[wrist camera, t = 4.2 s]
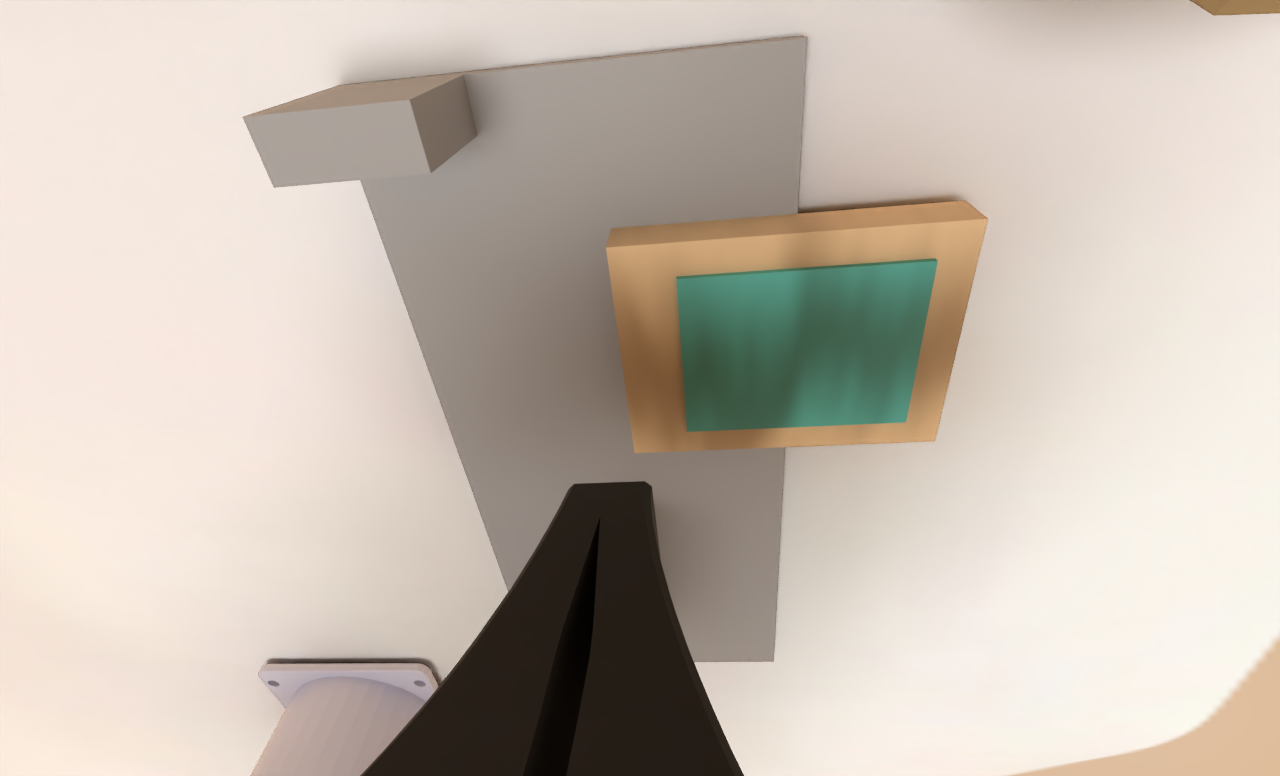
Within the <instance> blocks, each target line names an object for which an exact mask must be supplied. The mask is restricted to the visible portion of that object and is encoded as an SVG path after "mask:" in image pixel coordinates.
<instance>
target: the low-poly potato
mask: <svg viewBox="0 0 1280 776" xmlns="http://www.w3.org/2000/svg"><path fill="white" fill-rule="evenodd" d="M1190 1H1192V2H1194V3H1195V4H1197V5H1198V6H1200V7H1201V8H1203V9H1204V10H1206V11H1208V12H1209V13H1211V14H1212V15H1239V14H1269V13H1280V0H1190Z"/></svg>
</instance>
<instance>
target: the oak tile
mask: <svg viewBox="0 0 1280 776" xmlns="http://www.w3.org/2000/svg"><path fill="white" fill-rule="evenodd" d="M987 220H988V218H986V217H985V216H984V215H983V214H981V213H980V212H979V211H978V210H976V209H975V208H974V207H973V206H971V205H970V204H969V203H968V202H966V201H952V202H939V203H927V204H914V205H901V206H889V207H876V208H864V209H851V210H838V211H826V212H813V213H800V214H788V215H775V216H763V217H750V218H737V219H725V220H712V221H699V222H687V223H674V224H662V225H649V226H636V227H624V228H611V231H610V234H609V238H608V242H607V246H606V252H607V259H608V266H609V273H610V280H611V288H612V295H613V302H614V309H615V316H616V324H617V331H618V338H619V345H620V352H621V360H622V367H623V374H624V381H625V388H626V396H627V403H628V410H629V417H630V424H631V432H632V439H633V446H634V453H653V452H678V451H702V450H727V449H752V448H777V447H802V446H827V445H852V444H877V443H902V442H926V441H935V439H936V435H937V430H938V426H939V422H940V418H941V414H942V409H943V405H944V401H945V397H946V393H947V388H948V384H949V380H950V376H951V372H952V367H953V363H954V359H955V355H956V351H957V346H958V342H959V338H960V334H961V330H962V325H963V321H964V317H965V313H966V309H967V304H968V300H969V296H970V292H971V288H972V283H973V279H974V275H975V271H976V267H977V262H978V258H979V254H980V250H981V246H982V241H983V237H984V233H985V229H986V225H987Z"/></svg>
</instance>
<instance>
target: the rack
mask: <svg viewBox="0 0 1280 776" xmlns="http://www.w3.org/2000/svg"><path fill="white" fill-rule="evenodd" d="M806 46H807V37H805V36H794V37H784V38H775V39H766V40H756V41H747V42H738V43H729V44H719V45H710V46H701V47H691V48H682V49H673V50H663V51H654V52H645V53H636V54H626V55H617V56H608V57H598V58H589V59H580V60H570V61H561V62H552V63H542V64H533V65H524V66H515V67H505V68H496V69H487V70H477V71H468V72H459V73H449V74H440V75H431V76H422V77H412V78H403V79H394V80H384V81H375V82H366V83H356V84H347V85H338V86H335V87H332V88H329V89H326V90H323V91H320V92H317V93H314V94H311V95H308V96H305V97H302V98H299V99H296V100H293V101H290V102H287V103H284V104H281V105H278V106H274V107H271V108H268V109H265V110H262V111H259V112H256V113H253V114H250V115H247V116H244V117H243V119H244V121H245V124H246V126H247V128H248V130H249V133H250V135H251V137H252V139H253V142H254V144H255V146H256V148H257V151H258V153H259V155H260V157H261V160H262V162H263V164H264V166H265V169H266V171H267V173H268V175H269V178H270V180H271V182H272V184H273V187H274V188H275V187H286V186H297V185H308V184H319V183H330V182H341V181H352V180H360V181H361V184H362V186H363V189H364V192H365V195H366V197H367V200H368V203H369V206H370V209H371V211H372V214H373V217H374V220H375V222H376V225H377V228H378V231H379V234H380V236H381V239H382V242H383V245H384V247H385V250H386V253H387V256H388V259H389V261H390V264H391V267H392V270H393V272H394V275H395V278H396V281H397V284H398V286H399V289H400V292H401V295H402V297H403V300H404V303H405V306H406V309H407V311H408V314H409V317H410V320H411V322H412V325H413V328H414V331H415V334H416V336H417V339H418V342H419V345H420V347H421V350H422V353H423V356H424V359H425V361H426V364H427V367H428V370H429V372H430V375H431V378H432V381H433V384H434V386H435V389H436V392H437V395H438V397H439V400H440V403H441V406H442V409H443V411H444V414H445V417H446V420H447V422H448V425H449V428H450V431H451V434H452V436H453V439H454V442H455V445H456V447H457V450H458V453H459V456H460V459H461V461H462V464H463V467H464V470H465V472H466V475H467V478H468V481H469V484H470V486H471V489H472V492H473V495H474V497H475V500H476V503H477V506H478V509H479V511H480V514H481V517H482V520H483V522H484V525H485V528H486V531H487V534H488V536H489V539H490V542H491V545H492V547H493V550H494V553H495V556H496V559H497V561H498V564H499V567H500V570H501V572H502V575H503V578H504V581H505V584H506V586H507V589H508V592H509V590H510V589H511V587H512V586H513V584H514V583H515V581H516V580H517V578H518V576H519V575H520V573H521V572H522V570H523V568H524V567H525V565H526V564H527V562H528V560H529V559H530V557H531V556H532V554H533V553H534V551H535V549H536V548H537V546H538V544H539V542H540V541H541V539H542V537H543V536H544V534H545V532H546V530H547V529H548V527H549V525H550V523H551V522H552V520H553V518H554V516H555V514H556V512H557V511H558V509H559V507H560V505H561V503H562V501H563V499H564V497H565V495H566V493H567V491H568V489H569V488H570V487H571V486H572V485H573V484H578V483H607V482H637V481H645V482H647V483H648V484H649V485H651V486H652V491H653V500H654V508H655V516H656V525H657V533H658V541H659V550H660V560H661V564H662V567H663V571H664V574H665V578H666V581H667V585H668V589H669V592H670V596H671V599H672V602H673V605H674V608H675V611H676V614H677V617H678V620H679V623H680V626H681V629H682V632H683V634H684V637H685V640H686V643H687V646H688V648H689V651H690V654H691V656H692V659H693V661H694V662H774V648H775V629H776V610H777V591H778V572H779V554H780V535H781V516H782V497H783V478H784V460H785V447H777V448H752V449H727V450H702V451H678V452H653V453H634V446H633V439H632V432H631V424H630V417H629V410H628V403H627V396H626V388H625V381H624V374H623V367H622V360H621V352H620V345H619V338H618V331H617V324H616V316H615V309H614V302H613V295H612V288H611V280H610V273H609V266H608V259H607V252H606V246H607V242H608V238H609V234H610V231H611V228H624V227H636V226H649V225H662V224H674V223H687V222H699V221H712V220H725V219H737V218H750V217H763V216H775V215H788V214H798V197H799V178H800V159H801V140H802V122H803V103H804V84H805V65H806Z"/></svg>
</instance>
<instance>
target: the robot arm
mask: <svg viewBox="0 0 1280 776" xmlns="http://www.w3.org/2000/svg"><path fill="white" fill-rule="evenodd" d="M258 676H259V678H260V679H261V680H262V681H263V682H264V684H265V685H266V686H267V687H268V688H269V689H270V691H271V692H272V693H273V694H274V695H275V696H276V698H277V699H278V700H279V701H280V702H281V703H282V705H283V706H284V707H285V708H286V710H285V712H284V713H283V715H282V717H281V719H280V721H279V723H278V725H277V727H276V728H275V730H274V732H273V734H272V736H271V738H270V740H269V742H268V743H267V745H266V747H265V749H264V751H263V753H262V755H261V757H260V758H259V760H258V762H257V764H256V766H255V768H254V770H253V771H252V773H251V775H250V776H744V775H743V773H742V771H741V769H740V767H739V765H738V763H737V761H736V758H735V756H734V754H733V752H732V750H731V748H730V746H729V744H728V742H727V739H726V737H725V735H724V733H723V730H722V728H721V726H720V724H719V721H718V719H717V717H716V715H715V712H714V710H713V708H712V705H711V703H710V701H709V698H708V696H707V693H706V691H705V689H704V686H703V684H702V682H701V679H700V677H699V674H698V672H697V669H696V667H695V664H694V661H693V659H692V656H691V654H690V651H689V648H688V646H687V643H686V640H685V637H684V634H683V632H682V629H681V626H680V623H679V620H678V617H677V614H676V611H675V608H674V605H673V602H672V599H671V596H670V592H669V589H668V585H667V581H666V578H665V574H664V571H663V567H662V564H661V560H660V550H659V541H658V533H657V525H656V516H655V508H654V500H653V491H652V486H651V485H649V484H648V483H647V482H645V481H637V482H607V483H578V484H573V485H572V486H571V487H570V488H569V489H568V491H567V493H566V495H565V497H564V499H563V501H562V503H561V505H560V507H559V509H558V511H557V512H556V514H555V516H554V518H553V520H552V522H551V523H550V525H549V527H548V529H547V530H546V532H545V534H544V536H543V537H542V539H541V541H540V542H539V544H538V546H537V548H536V549H535V551H534V553H533V554H532V556H531V557H530V559H529V560H528V562H527V564H526V565H525V567H524V568H523V570H522V572H521V573H520V575H519V576H518V578H517V580H516V581H515V583H514V584H513V586H512V587H511V589H510V590H509V592H508V593H507V595H506V596H505V598H504V599H503V601H502V602H501V604H500V605H499V607H498V608H497V609H496V611H495V612H494V614H493V615H492V616H491V618H490V619H489V621H488V622H487V624H486V625H485V626H484V628H483V629H482V631H481V632H480V634H479V635H478V636H477V638H476V639H475V641H474V642H473V643H472V645H471V646H470V647H469V649H468V650H467V651H466V653H465V654H464V655H463V656H462V658H461V659H460V660H459V662H458V663H457V664H456V666H455V667H454V668H453V669H452V671H451V672H450V673H449V675H448V676H447V677H446V678H445V679H444V681H443V682H442V683H441V684H440V686H438V684H437V682H436V680H435V678H434V676H433V675H432V673H431V671H430V669H429V668H428V667H427V666H425V665H423V664H419V663H340V664H265V665H263V666H262V667H261V669H260V671H259V672H258Z"/></svg>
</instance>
